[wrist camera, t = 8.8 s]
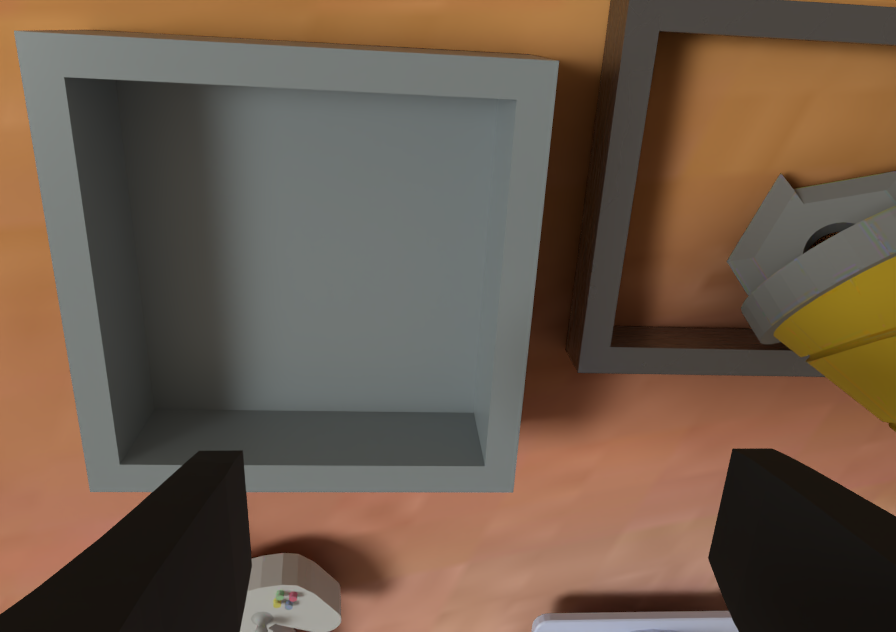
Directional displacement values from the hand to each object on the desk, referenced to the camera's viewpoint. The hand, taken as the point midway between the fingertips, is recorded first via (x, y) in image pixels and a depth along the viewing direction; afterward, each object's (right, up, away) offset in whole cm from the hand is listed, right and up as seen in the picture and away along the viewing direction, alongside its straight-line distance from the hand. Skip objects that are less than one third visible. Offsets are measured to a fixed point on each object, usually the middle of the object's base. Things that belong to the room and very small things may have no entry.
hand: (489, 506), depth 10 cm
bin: (-4, +5, +9) cm, 11 cm away
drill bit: (+8, +7, +9) cm, 14 cm away
